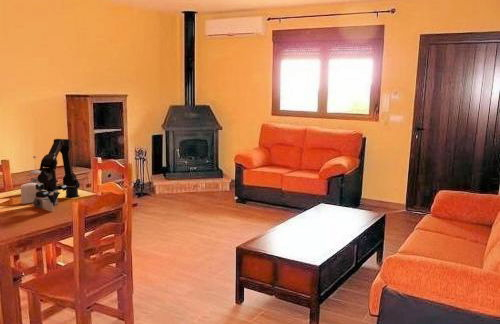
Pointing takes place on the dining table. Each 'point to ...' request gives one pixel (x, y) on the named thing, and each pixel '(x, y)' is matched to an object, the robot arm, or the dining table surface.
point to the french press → (33, 180)
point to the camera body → (38, 201)
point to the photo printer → (28, 192)
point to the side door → (47, 205)
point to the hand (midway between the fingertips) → (53, 205)
